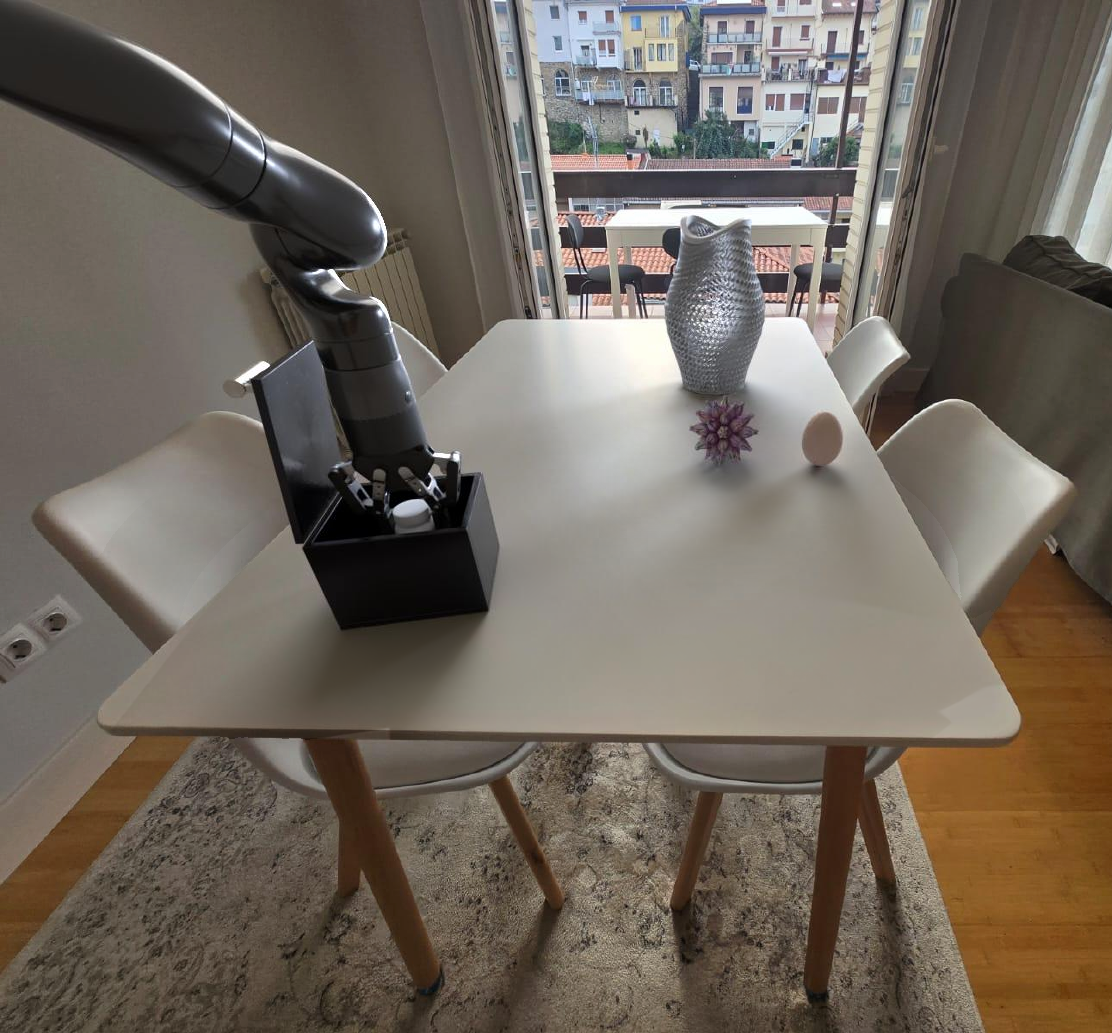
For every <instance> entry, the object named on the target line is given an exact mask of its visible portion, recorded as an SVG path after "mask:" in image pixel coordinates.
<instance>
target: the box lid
mask: <svg viewBox="0 0 1112 1033" xmlns="http://www.w3.org/2000/svg"><path fill="white" fill-rule="evenodd" d="M222 390H223V392H224V393H225V394H226V395H228V396H229V397H231V398H234V399H241V398H244V397H245V396H246V395H247V394H254V399H255V402H256V406H257V410H258V413H259V417H260V421H261V423H262V427H263V432H264V436H265V438H266V443H267V446H268V450H269V453H270V457H271V460H272V464H273V467H274V471H275V475H276V478H277V482H278V486H279V489H280V493H281V496H282V500H283V505H284V507H285V511H286V514H287V519H288V523H289V526H290V529H291V533H292V537H293V540H294V544H295V545H304V544H305V542H306V541H307V539H308V538H309V536H310V535H311V533H312V532H313V530H314V529H315V527H316V526H317V524H318V523H319V521H320V520H321V518H322V517H323V515H324V514H325V512H326V511H327V509H328V508H329V506H330V505H331V503H332V502H333V500H334V499H335V497H336V496H337V494H338V493H339V491H338V490H337V489H336V487H335V486H334V485H333V483H332V482H331V481H330V479H329V478H328V473H329V472H330V470H331V469H332V467H333V466H334V465H335V464H336V463H337V462H343V461H342V457H341V453H340V447H339V442H338V438H337V433H336V428H335V424H334V417H333V414H332V413H333V412H332V408H331V403H330V398H329V392H328V387H327V383H326V378H325V373H324V370H323V366H322V364H321V361H320V358H319V356H318V353H317V350H316V347H315V345H314V342H313V338H312V337H308V338H306V339H305V340H303V341H301V342H300V343H299V344H297V346H295V347H294V348H292V349H291V350H289V351H288V352H286V354H285V353H284V355H282V356H281V357H280V358H278V359H276V361H274V362H272V363H271V364H269V363H267V362H266V361H263V360H255V361H253V362H252V363H250V364H248V365H247V366H246V367H244V368H243V369H241V370H240V371H238V372H237V373H235V374H234V375H233V376H231V377H229V378H228V379H226V380H225V381H224V382H223V383H222Z"/></svg>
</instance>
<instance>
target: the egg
mask: <svg viewBox="0 0 1112 1033" xmlns="http://www.w3.org/2000/svg"><path fill="white" fill-rule="evenodd" d="M843 444H844V432H843V428H842V425H841V422H840V420H839V419H838V417H837V416H836V415H835V414H833V413H832V412H830V411H827V410H823V411H820V412H817V413H816V414H814V415H813V416H812V417H811V418H810V419H809V421H808V422H807V424H806V425H805V428H804V429H803V432H802V436H801V449H802V453H803V456H804V457H805V458H806V459H807V461H808V462H809V463H810V464H812V465H814V466H817V467H824V466H828V465H829V464H831V463H833V462H834V461H835V460H836V459H837V458H838V456H839V454H840V453H841V451H842V449H843Z"/></svg>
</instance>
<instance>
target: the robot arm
mask: <svg viewBox="0 0 1112 1033" xmlns="http://www.w3.org/2000/svg"><path fill="white" fill-rule="evenodd" d="M0 101H1V102H3V103H5V104H7V105H10V106H12V107H14V108H16V109H19V110H20V111H23V112H26V113H28V114H30V115H32V116H34V117H37V118H39V119H41V120H43V121H45V122H47V123H50V124H51V125H54V126H56V127H58V128H60V129H62V130H64V131H67V132H69V133H70V134H72V135H75V136H77V137H79V138H80V139H83V140H85V141H87V142H89V143H90V144H93V145H95V146H97V147H98V148H101V149H102V150H104V151H106V152H108V153H109V154H112V155H114V156H115V157H117V158H119V159H120V160H123V161H125V162H126V163H128V164H130V165H132V166H133V167H134V168H137V169H139V170H140V171H141V172H143V173H145V174H147V175H148V176H151V178H154V179H156V180H157V181H159V182H161V183H163V184H165V186H168V187H170V188H171V189H173V190H174V191H177V192H178V193H180V194H182V195H184V196H185V197H187V198H189V199H190V200H192V201H194V202H196V203H198V204H200V205H201V206H203V207H205V208H207V209H208V210H210V211H212V212H214V213H216V214H217V215H220V216H222V217H225V218H227V219H230V220H233V221H237V222H241V223H247V228H248V231H249V234H250V237H251V240H252V242H253V245H254V246H255V248H256V250H257V252H258V254H259V256H260V257H261V259H262V261H263V262H264V264H265V265H266V266H267V268H268V269H269V271H270V272H271V274H272V275H273V277H274V278H275V279H276V281H277V283H278V284H279V285H280V287H281V288H282V290H283V292H284V293H285V295H286V297H288V299H289V300H290V303H291V304H292V305H293V307H294V308H295V309H296V310H297V312H298V313H299V314H300V316H301V317H302V319H303V320H304V322H305V323H306V325H307V327H308V329H309V333H310V336H311V338H313V342H314V345H315V347H316V350H317V353H318V356H319V358H320V361H321V364H322V369H323V374H324V378H325V383H326V388H327V392H328V395H329V396H330V402H331V406H332V408H333V409H334V411H335V412H336V415H337V418H338V421H339V424H340V426H341V428H342V431H343V434H344V437H345V439H346V443H347V445H348V448H349V450H350V452H351V454H352V459H351V460H350V461H347V462H344V461H342V462H337V463H336V464H335V465H334V466H333V467H332V469H331V470H330V472H329V473H328V478H329V479H330V481H331V482H332V483H333V485H334V486H335V487H336V489H337V490H338V491H339V492H338V493H340V494H341V495H342V497H343V498H344V500H345V501H346V502H347V504H348V505H349V506H350V508H351V509H352V510H353V512H354V513H355V514H356V515H358V516H363V515H364V514H368V515H372V516H373V517H375V518H376V519H377V522H378V524H379V527H380V529H381V532H382V535H393V534H396V533H395V525H396V522H395V520H394V516H393V508H392V509H390V508H389V501H390V492H396V491H399V490H407V491H411V490H414V492H415V493H416V494H417V495H418V497H419V498H420V499H423V500H424V501H425V502H426V504H427V505H428V506H429V507H430V509H431V510H432V513H431V515H432V518H433V522H434V525H435V528H436V530H440V529H449V528H450V527H451V520H450V516H449V513H448V509H447V507H449V506H455V505H456V504H457V501H458V497H459V494H460V480H461V474H462V453H460V452H459V451H456V450H454V451H451V453H450V454H448V453H447V454H446V453H439V452H436V451H435V449H434V448H432V447H431V445H430V444H429V442H428V440H427V438H428V437H427V435H426V432H425V428H424V425H423V421H422V418H421V414H420V411H419V407H418V403H417V400H416V396H415V392H414V389H413V386H412V382H411V379H410V376H409V374H408V371H407V368H406V367H405V364H404V362H403V359H402V357H401V355H400V351H399V347H398V343H397V339H396V336H395V334H394V329H393V326H392V323H391V319H390V316H389V314H388V311H387V308H386V307H385V305H384V304H383V303H382V301H381V300H379V299H377V298H376V297H373V296H370V295H367V294H364V293H360V292H357V291H354V290H352V289H350V288H348V287H347V286H346V285H345V284H344V283H343V282H342V281H341V279H340V278H339V276H338V275H337V273H336V272H335V271H360V270H365V269H367V268H370V267H372V266H374V265H376V264H377V263H378V262H379V261H380V260H381V258H382V257H383V256H384V254H385V252H386V247H387V243H388V237H387V235H388V234H387V229H386V226H385V223H384V220H383V217H382V216H381V213H380V211H379V209H378V208H377V206H376V205H375V203H374V202H373V201H372V199H371V198H370V196H368V195H367V193H366V192H365V191H364V190H363V189H362V188H361V187H360V186H358V185H357V184H356V183H355V182H353V181H352V180H350V178H348V177H347V176H345V175H344V174H342V173H340V172H338V171H337V170H335V169H334V168H331V167H330V166H328V165H326V164H324V163H322V162H321V161H319V160H317V159H315V158H313V157H311V156H309V155H308V154H305V153H304V152H302V151H300V150H298V149H296V148H294V147H292V146H290V145H288V144H286V143H284V142H281V141H279V140H277V139H275V138H273V137H272V136H269V135H268V134H266V133H264V132H263V131H262V130H261V129H260V128H258V127H257V125H255V124H254V123H253V122H252V121H250V120H249V119H248V118H246V117H245V116H244V115H243V114H242V113H241V112H239V111H238V110H237V109H236V108H234V107H233V106H232V105H231V104H229V103H228V102H227V101H226V100H224V99H223V98H222V97H220V96H219V95H218V94H217V93H216V92H214V91H213V90H212V89H211V88H209V87H208V86H207V85H205V84H204V83H203V82H201V80H199V79H197V78H196V77H195V76H193V75H192V74H190V73H189V72H188V71H186V70H185V69H183V67H181V66H179V65H177V64H176V63H174V62H173V61H171V60H170V59H168V58H166V57H165V56H162V55H161V54H159V53H157V52H156V51H153V50H151V49H150V48H148V47H146V46H144V45H142V44H140V43H137V42H136V41H133V40H131V39H129V38H126V37H124V36H122V35H119V34H117V33H115V32H113V31H110V30H108V29H106V28H103V27H101V26H98V25H96V24H95V23H94V24H93V23H91V22H88V21H86V20H83V19H81V18H78V17H76V16H74V15H71V14H68V13H65V12H62V11H60V10H57V9H55V8H52V7H50V6H47V5H44V4H42V3H39V2H37V1H34V0H0ZM434 465H436V466H438V468H439V471H440V472H441V474H442V475H446V492H445V493H442V492H441V490H440V489H439V488H438V486H437V484H436V481H435V479H434V478H433V476H434V475H432V473H431V472H430V471H431V470H432V467H433V466H434ZM358 474H359V475H360V476H361V477H362V478H364V479H366V480H367V481H369V482H371V483H372V484H373V493H372V499H370V497H369V496H368V494H367V493H366V492H365V490H364V489H363V487H362V486H361V485H360V483H361V482H360V481H359V480H358V479H357V477H358Z"/></svg>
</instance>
